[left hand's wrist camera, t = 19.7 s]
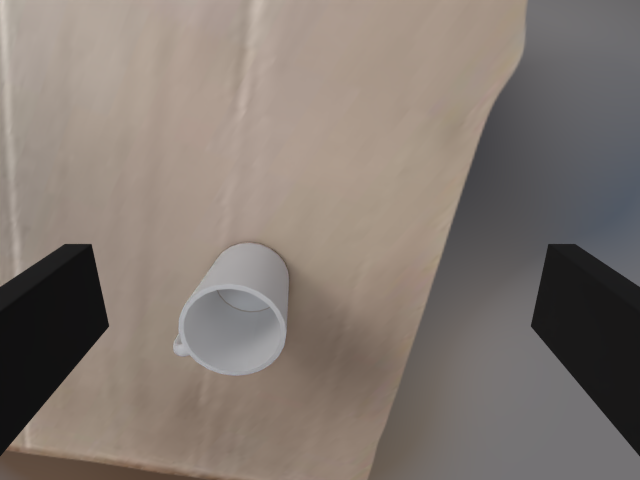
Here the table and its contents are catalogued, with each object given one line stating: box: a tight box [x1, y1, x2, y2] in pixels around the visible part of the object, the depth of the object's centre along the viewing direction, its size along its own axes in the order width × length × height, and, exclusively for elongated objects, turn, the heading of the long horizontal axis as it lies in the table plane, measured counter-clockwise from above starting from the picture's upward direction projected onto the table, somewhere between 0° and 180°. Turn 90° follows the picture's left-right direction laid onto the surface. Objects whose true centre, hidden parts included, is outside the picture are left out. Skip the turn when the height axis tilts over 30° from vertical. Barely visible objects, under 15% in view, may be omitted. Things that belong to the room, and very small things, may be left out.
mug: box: [173, 242, 289, 376], centre depth 40 cm, size 11×9×10 cm
